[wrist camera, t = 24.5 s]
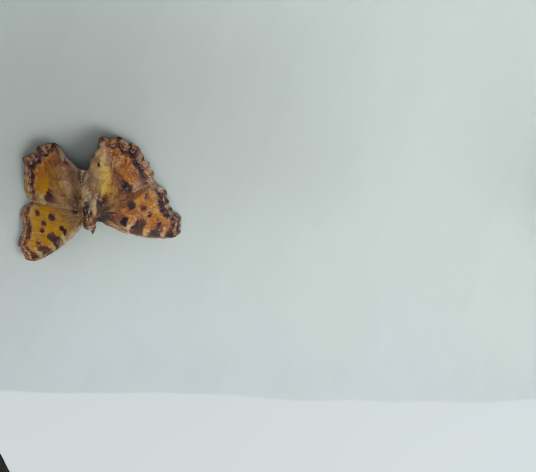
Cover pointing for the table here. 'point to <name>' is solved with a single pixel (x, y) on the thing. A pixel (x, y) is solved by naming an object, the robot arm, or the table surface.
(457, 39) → the table surface
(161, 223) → the butterfly model
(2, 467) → the robot arm
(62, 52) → the table surface
